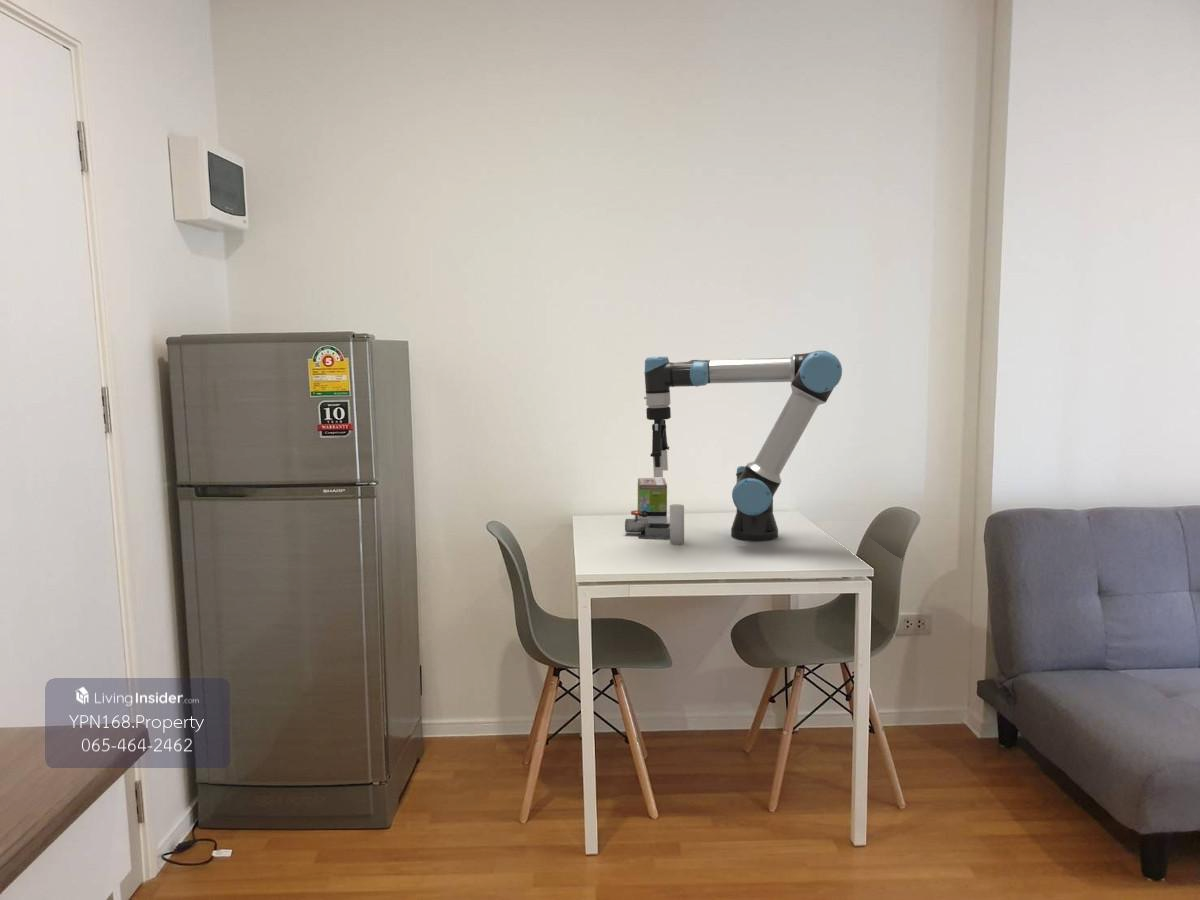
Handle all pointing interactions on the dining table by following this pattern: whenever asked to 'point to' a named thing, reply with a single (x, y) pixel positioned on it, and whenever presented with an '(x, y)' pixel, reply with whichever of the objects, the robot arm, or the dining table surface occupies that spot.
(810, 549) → the dining table surface
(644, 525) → the grey knobbed block
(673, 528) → the pipe
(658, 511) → the tea box
